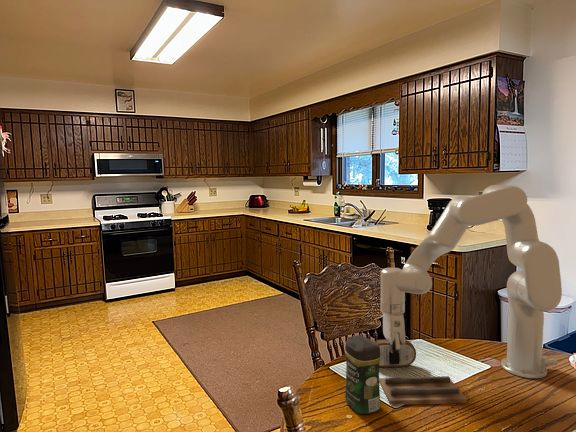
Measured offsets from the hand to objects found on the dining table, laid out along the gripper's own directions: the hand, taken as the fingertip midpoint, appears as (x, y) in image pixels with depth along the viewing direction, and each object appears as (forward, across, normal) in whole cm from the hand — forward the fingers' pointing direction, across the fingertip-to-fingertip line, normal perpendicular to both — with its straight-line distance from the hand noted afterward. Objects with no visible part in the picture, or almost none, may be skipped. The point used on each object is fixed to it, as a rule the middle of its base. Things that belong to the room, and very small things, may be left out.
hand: (392, 360), depth 130 cm
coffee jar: (+2, -22, +14) cm, 26 cm away
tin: (+2, 0, 0) cm, 2 cm away
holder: (+2, -16, -4) cm, 17 cm away
